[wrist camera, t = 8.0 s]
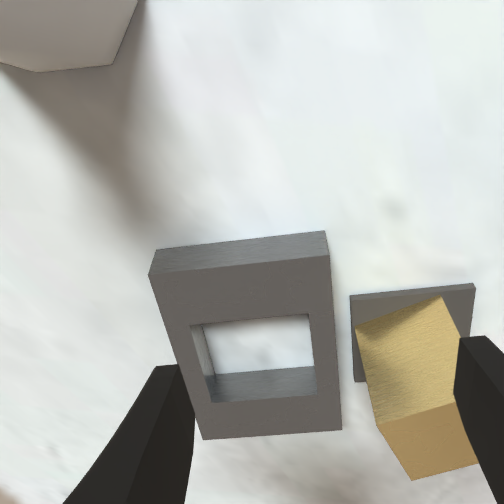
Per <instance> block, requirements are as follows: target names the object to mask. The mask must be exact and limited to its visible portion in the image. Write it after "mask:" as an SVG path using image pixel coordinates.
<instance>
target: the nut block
mask: <svg viewBox="0 0 504 504" xmlns="http://www.w3.org/2000/svg"><path fill="white" fill-rule="evenodd" d="M354 327H355V332H356V336H357V341H358V345H359V350H360V354H361V358H362V363H363V367H364V372H365V376H366V381H367V385H368V390H369V394H370V398H371V403H372V407H373V412H374V416H375V421H376V425H377V427H378V429H379V430H380V432H381V433H382V435H383V436H384V438H385V440H386V441H387V443H388V444H389V446H390V447H391V449H392V451H393V452H394V454H395V455H396V457H397V458H398V460H399V462H400V463H401V465H402V466H403V468H404V470H405V471H406V473H407V474H408V476H409V477H410V479H411V481H413V480H417V479H420V478H424V477H428V476H432V475H436V474H440V473H443V472H447V471H451V470H455V469H459V468H462V467H466V466H470V465H474V464H478V463H479V462H478V460H477V457H476V455H475V453H474V451H473V448H472V446H471V444H470V442H469V439H468V437H467V435H466V432H465V430H464V427H463V423H462V420H461V417H460V414H459V411H458V408H457V404H456V401H455V398H454V395H453V388H454V379H455V371H456V362H457V354H458V346H459V338H461V337H460V335H459V332H458V330H457V328H456V326H455V324H454V322H453V320H452V318H451V316H450V314H449V312H448V309H447V307H446V305H445V303H444V301H443V299H442V297H441V295H438V296H435V297H432V298H429V299H427V300H424V301H421V302H419V303H416V304H413V305H410V306H408V307H405V308H402V309H400V310H397V311H394V312H391V313H389V314H386V315H383V316H381V317H378V318H375V319H372V320H370V321H367V322H364V323H362V324H359V325H356V326H354Z"/></svg>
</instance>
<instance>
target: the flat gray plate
mask: <svg viewBox="0 0 504 504" xmlns="http://www.w3.org/2000/svg"><path fill="white" fill-rule="evenodd" d="M475 292H476V287H475V286H474V284H473V283H469V284H460V285H450V286H440V287H430V288H420V289H410V290H400V291H390V292H380V293H370V294H360V295H351V296H350V311H351V332H352V353H353V373H354V381H355V382H364V381H366V376H365V372H364V367H363V363H362V358H361V354H360V350H359V345H358V341H357V336H356V332H355V327H354V326H356V325H359V324H362V323H364V322H367V321H370V320H372V319H375V318H378V317H381V316H383V315H386V314H389V313H391V312H394V311H397V310H400V309H402V308H405V307H408V306H410V305H413V304H416V303H419V302H421V301H424V300H427V299H429V298H432V297H435V296H438V295H441V297H442V299H443V301H444V303H445V305H446V307H447V309H448V312H449V314H450V316H451V318H452V320H453V322H454V324H455V326H456V328H457V330H458V332H459V335H460V337H461V338H463V337H469V336H470V329H471V321H472V314H473V306H474V299H475Z"/></svg>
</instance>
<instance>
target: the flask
mask: <svg viewBox="0 0 504 504" xmlns="http://www.w3.org/2000/svg"><path fill="white" fill-rule="evenodd" d="M137 3H138V0H0V62H1V63H5V64H8V65H12V66H15V67H19V68H22V69H26V70H29V71H34V72H39V73H41V72H50V71H59V70H67V69H76V68H85V67H94V66H103V65H112V64H113V62H114V59H115V57H116V54H117V52H118V49H119V47H120V44H121V42H122V39H123V37H124V35H125V32H126V30H127V27H128V25H129V22H130V20H131V17H132V15H133V13H134V10H135V8H136V5H137Z"/></svg>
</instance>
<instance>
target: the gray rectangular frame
mask: <svg viewBox="0 0 504 504" xmlns="http://www.w3.org/2000/svg"><path fill="white" fill-rule="evenodd" d="M148 277H149V280H150V283H151V286H152V289H153V292H154V295H155V298H156V301H157V304H158V307H159V310H160V313H161V316H162V319H163V322H164V325H165V328H166V331H167V334H168V337H169V340H170V343H171V346H172V349H173V352H174V355H175V358H176V361H177V364H179V366H180V369H181V372H182V375H183V378H184V381H185V384H186V387H187V390H188V394H189V397H190V400H191V403H192V406H193V409H194V412H195V418H196V421H197V424H198V427H199V430H200V433H201V436H202V439H203V440H213V439H226V438H240V437H254V436H267V435H281V434H295V433H308V432H322V431H336V430H342V419H341V405H340V392H339V378H338V365H337V351H336V338H335V324H334V310H333V297H332V283H331V270H330V256H329V250H328V245H327V240H326V235H325V231H316V232H308V233H299V234H290V235H281V236H273V237H264V238H255V239H247V240H238V241H229V242H221V243H212V244H203V245H194V246H186V247H177V248H168V249H160V250H156V252H155V255H154V258H153V261H152V264H151V267H150V270H149V273H148ZM307 313H309V322H310V331H311V340H312V349H313V358H314V366H310V367H299V368H287V369H276V370H264V371H253V372H241V373H230V374H218V375H215V372H214V369H213V365H212V362H211V358H210V354H209V351H208V347H207V343H206V340H205V336H204V333H203V329H202V325H201V324H205V323H215V322H225V321H235V320H245V319H256V318H266V317H276V316H286V315H296V314H307Z"/></svg>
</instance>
